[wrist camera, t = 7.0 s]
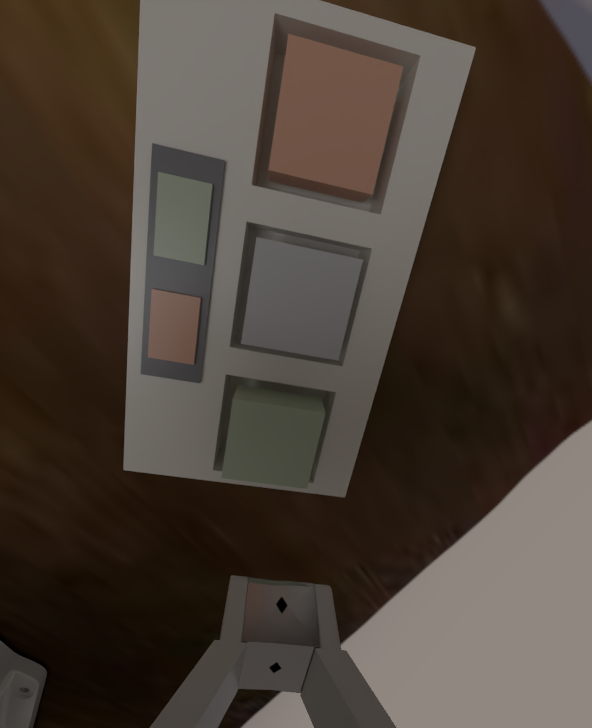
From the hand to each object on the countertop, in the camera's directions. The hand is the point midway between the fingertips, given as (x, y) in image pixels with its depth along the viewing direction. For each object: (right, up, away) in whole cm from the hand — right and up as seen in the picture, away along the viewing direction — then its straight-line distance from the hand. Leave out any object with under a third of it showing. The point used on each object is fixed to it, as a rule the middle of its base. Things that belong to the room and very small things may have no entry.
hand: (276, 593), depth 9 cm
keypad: (-1, +12, +10) cm, 15 cm away
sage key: (-1, +3, +10) cm, 10 cm away
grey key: (+1, +10, +8) cm, 13 cm away
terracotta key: (+2, +18, +6) cm, 19 cm away
